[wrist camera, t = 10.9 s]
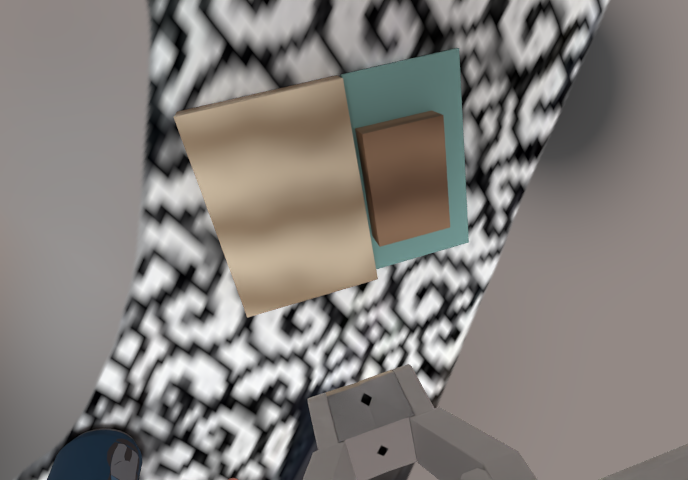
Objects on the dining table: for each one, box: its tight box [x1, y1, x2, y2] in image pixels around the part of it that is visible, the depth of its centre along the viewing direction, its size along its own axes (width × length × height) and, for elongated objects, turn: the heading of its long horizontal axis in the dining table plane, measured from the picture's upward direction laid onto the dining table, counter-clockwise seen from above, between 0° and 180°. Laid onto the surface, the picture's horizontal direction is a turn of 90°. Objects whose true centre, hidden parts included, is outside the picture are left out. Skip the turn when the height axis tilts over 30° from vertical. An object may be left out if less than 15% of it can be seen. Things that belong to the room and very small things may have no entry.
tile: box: [355, 111, 450, 247], centre depth 33 cm, size 9×6×2 cm, turn 10°
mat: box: [340, 48, 469, 269], centre depth 34 cm, size 16×9×1 cm, turn 11°
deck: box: [174, 76, 378, 317], centre depth 32 cm, size 16×11×2 cm
